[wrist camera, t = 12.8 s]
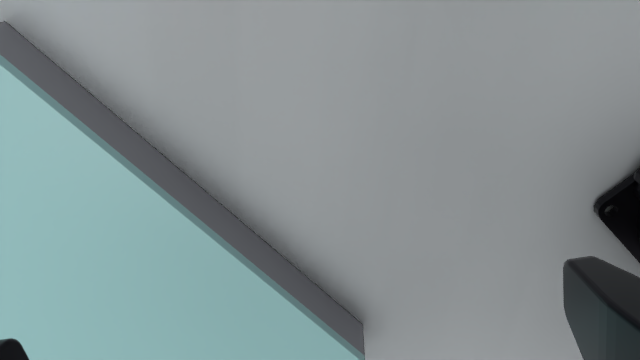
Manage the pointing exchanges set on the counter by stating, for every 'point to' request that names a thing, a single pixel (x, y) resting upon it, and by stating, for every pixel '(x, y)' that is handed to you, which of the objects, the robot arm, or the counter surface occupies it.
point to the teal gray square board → (133, 243)
